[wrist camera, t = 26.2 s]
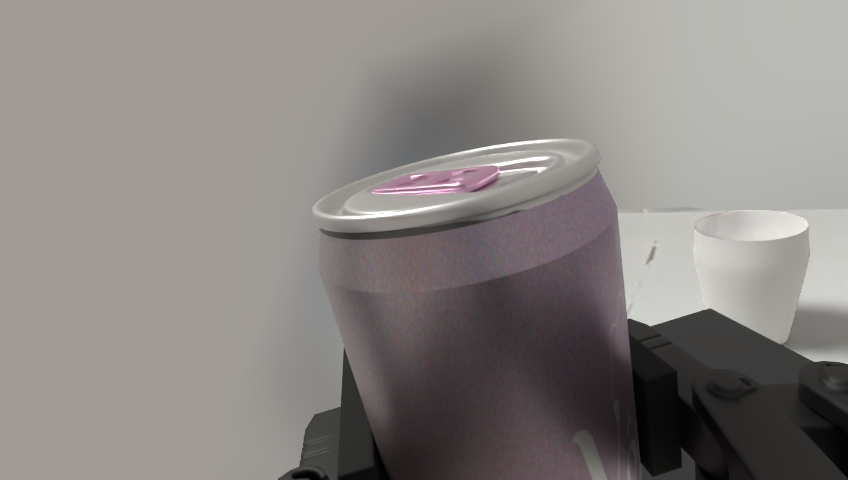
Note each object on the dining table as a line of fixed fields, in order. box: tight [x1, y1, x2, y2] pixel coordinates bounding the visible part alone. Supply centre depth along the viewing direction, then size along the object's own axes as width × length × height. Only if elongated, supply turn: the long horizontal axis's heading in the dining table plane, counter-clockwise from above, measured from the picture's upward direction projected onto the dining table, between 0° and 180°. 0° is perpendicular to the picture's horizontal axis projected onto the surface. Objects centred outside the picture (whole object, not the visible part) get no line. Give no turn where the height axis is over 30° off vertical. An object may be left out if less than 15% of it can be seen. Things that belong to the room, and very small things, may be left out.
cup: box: [693, 210, 810, 345], centre depth 42 cm, size 9×9×12 cm
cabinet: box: [640, 308, 813, 480], centre depth 29 cm, size 17×14×9 cm
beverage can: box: [312, 138, 642, 480], centre depth 11 cm, size 6×6×15 cm
